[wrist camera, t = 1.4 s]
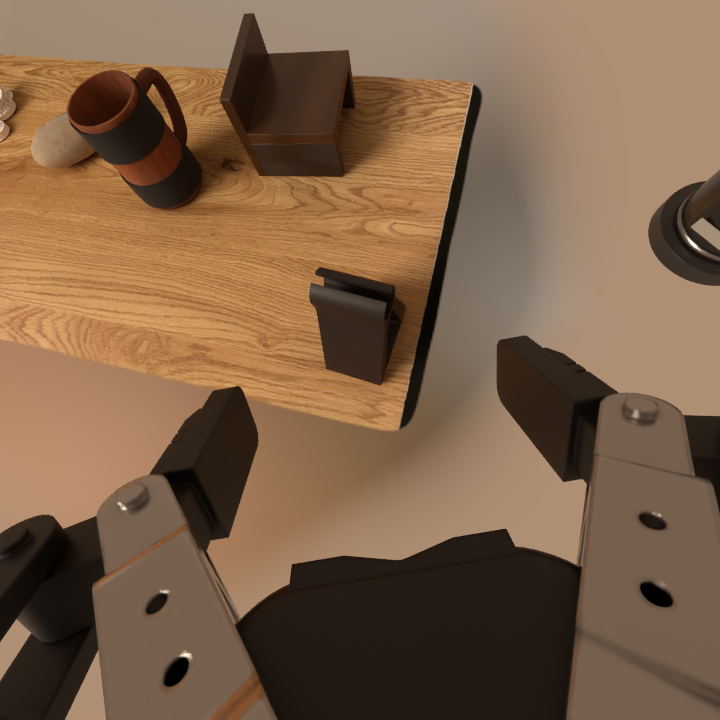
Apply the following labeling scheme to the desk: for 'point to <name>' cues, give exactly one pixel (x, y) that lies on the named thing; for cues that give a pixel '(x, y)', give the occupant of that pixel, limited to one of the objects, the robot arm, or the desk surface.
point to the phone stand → (356, 323)
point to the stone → (59, 144)
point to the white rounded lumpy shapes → (5, 111)
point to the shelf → (287, 105)
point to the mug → (137, 135)
